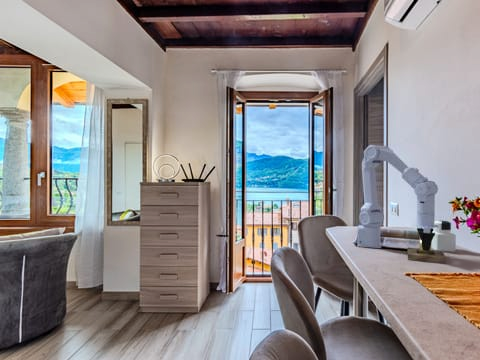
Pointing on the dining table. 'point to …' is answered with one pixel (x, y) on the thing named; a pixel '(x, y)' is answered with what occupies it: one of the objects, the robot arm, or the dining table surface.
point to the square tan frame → (426, 256)
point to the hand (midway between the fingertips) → (425, 248)
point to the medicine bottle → (443, 237)
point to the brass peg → (422, 249)
